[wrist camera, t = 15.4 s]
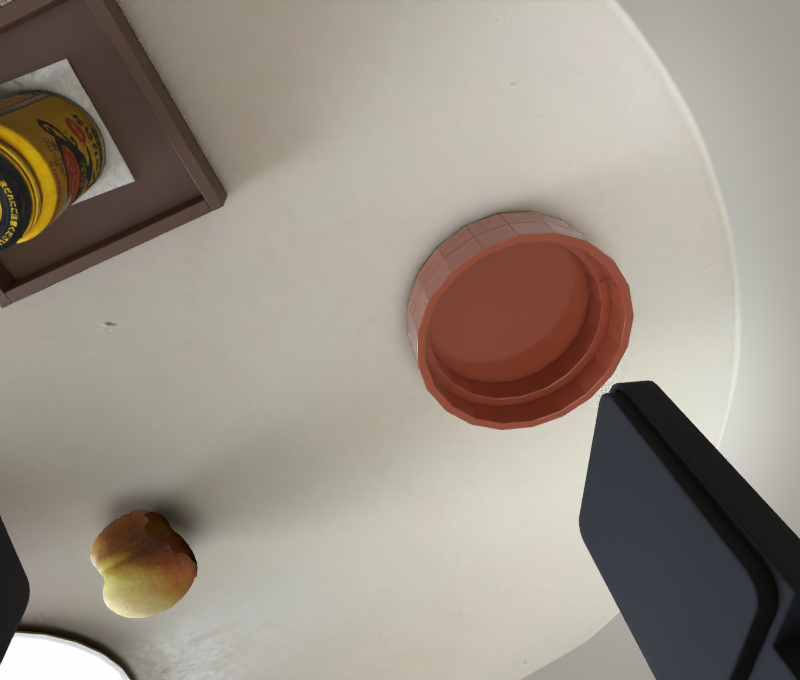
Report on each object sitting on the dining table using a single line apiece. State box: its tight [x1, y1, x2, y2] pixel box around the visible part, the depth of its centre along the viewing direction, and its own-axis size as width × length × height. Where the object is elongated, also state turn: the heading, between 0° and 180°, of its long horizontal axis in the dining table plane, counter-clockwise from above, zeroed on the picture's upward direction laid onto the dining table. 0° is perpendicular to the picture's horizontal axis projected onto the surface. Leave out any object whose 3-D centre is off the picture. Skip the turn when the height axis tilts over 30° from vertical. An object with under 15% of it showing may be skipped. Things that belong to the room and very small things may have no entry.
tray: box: [0, 0, 227, 308], centre depth 36 cm, size 16×14×2 cm
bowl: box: [407, 212, 633, 430], centre depth 45 cm, size 15×15×5 cm
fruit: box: [90, 510, 198, 618], centre depth 49 cm, size 8×8×8 cm
